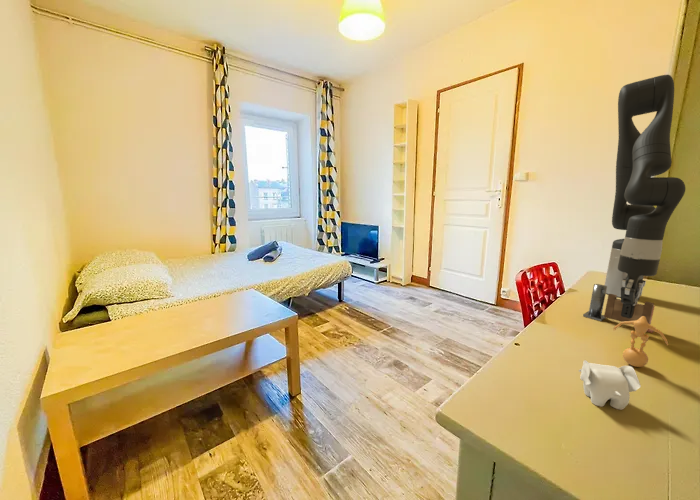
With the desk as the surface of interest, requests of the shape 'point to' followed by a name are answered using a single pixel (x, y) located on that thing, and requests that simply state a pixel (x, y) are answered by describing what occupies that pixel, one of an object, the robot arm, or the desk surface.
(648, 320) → the gate
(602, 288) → the gate posts
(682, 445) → the desk surface
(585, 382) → the elephant figurine
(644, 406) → the desk surface
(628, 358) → the figurine
